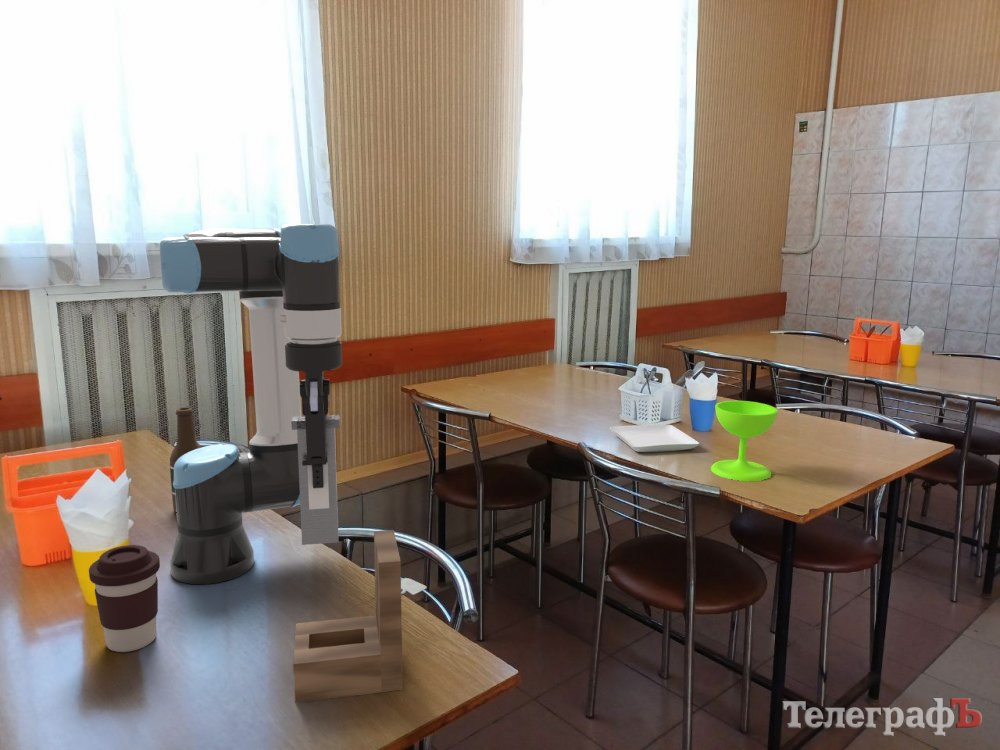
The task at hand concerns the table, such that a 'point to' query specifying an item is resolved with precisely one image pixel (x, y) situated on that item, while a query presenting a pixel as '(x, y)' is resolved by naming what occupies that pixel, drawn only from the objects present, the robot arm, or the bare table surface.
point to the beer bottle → (182, 441)
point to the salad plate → (654, 438)
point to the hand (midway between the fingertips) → (319, 503)
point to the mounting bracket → (411, 586)
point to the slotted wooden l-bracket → (355, 640)
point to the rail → (324, 522)
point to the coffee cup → (127, 596)
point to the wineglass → (743, 437)
